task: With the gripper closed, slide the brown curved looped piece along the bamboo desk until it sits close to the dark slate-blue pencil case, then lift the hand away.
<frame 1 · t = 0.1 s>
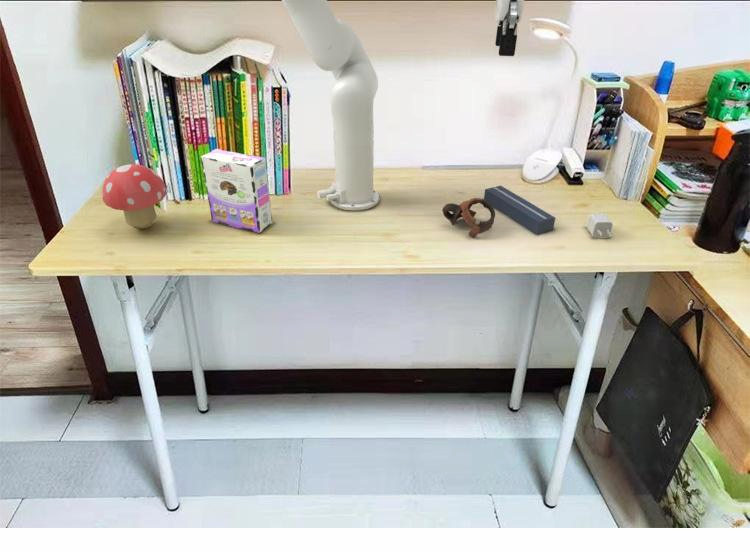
hand: (504, 50, 119), 37 cm above the table, tool pointing down, fingers open, 9 cm apart
usb wall charger: (599, 236, 128), on the table
candy box: (242, 223, 132), on the table
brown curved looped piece: (466, 228, 131), on the table
pencil case: (516, 214, 136), on the table
decorative mushroom: (143, 228, 129), on the table
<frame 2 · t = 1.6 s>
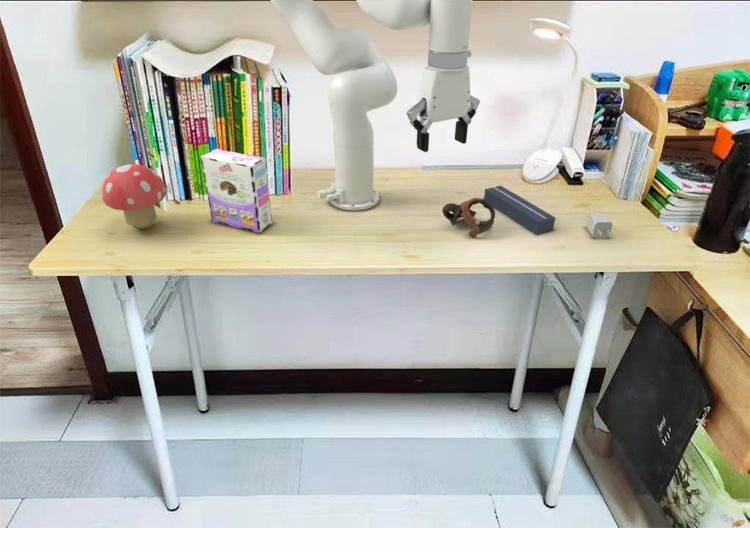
hand: (441, 145, 116), 21 cm above the table, tool pointing down, fingers open, 9 cm apart
nothing on the table moved.
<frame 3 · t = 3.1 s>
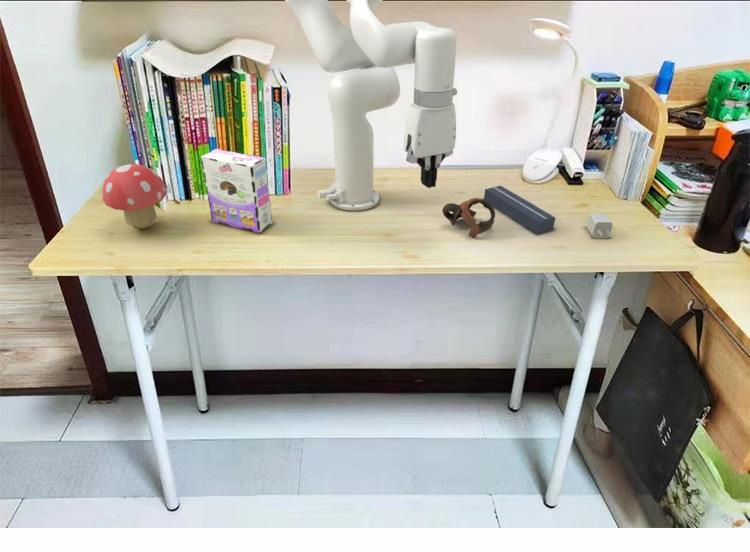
hand: (428, 185, 118), 13 cm above the table, tool pointing down, fingers closed
nothing on the table moved.
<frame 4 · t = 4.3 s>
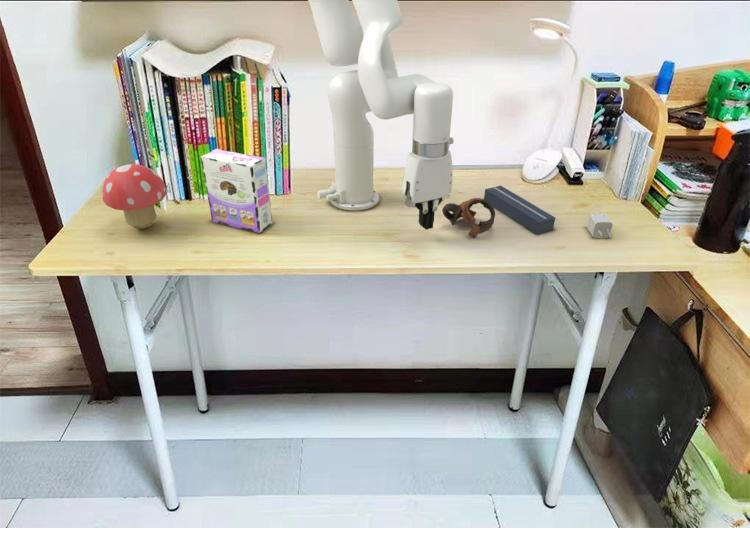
hand: (425, 226, 124), 3 cm above the table, tool pointing down, fingers closed
nothing on the table moved.
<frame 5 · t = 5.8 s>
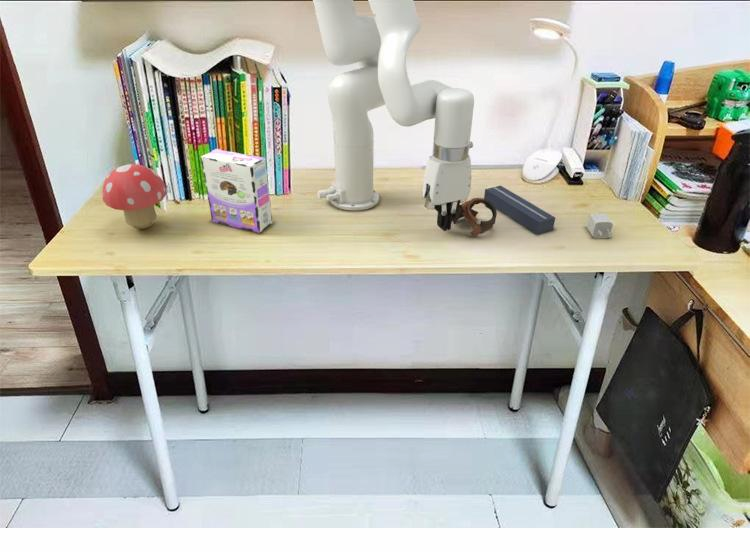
hand: (443, 227, 127), 2 cm above the table, tool pointing down, fingers closed
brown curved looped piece: (468, 228, 131), on the table, touching gripper
everything else where it was.
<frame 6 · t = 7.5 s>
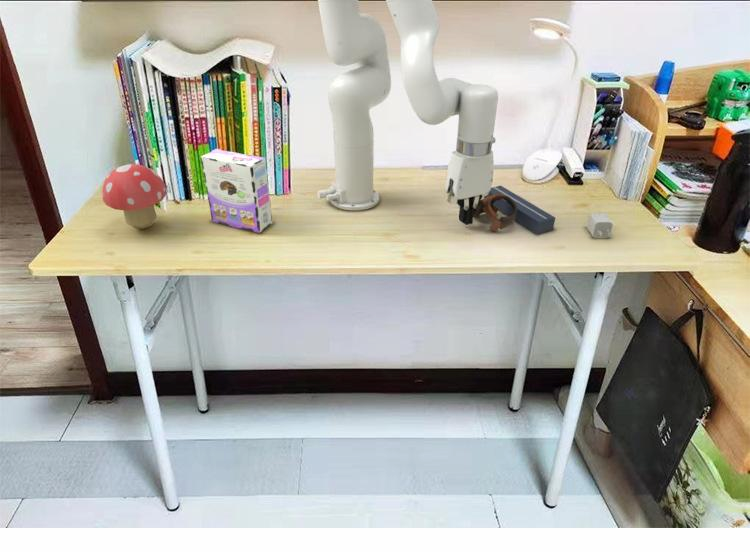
hand: (465, 222, 129), 2 cm above the table, tool pointing down, fingers closed
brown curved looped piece: (488, 223, 133), on the table, touching gripper
everything else where it was.
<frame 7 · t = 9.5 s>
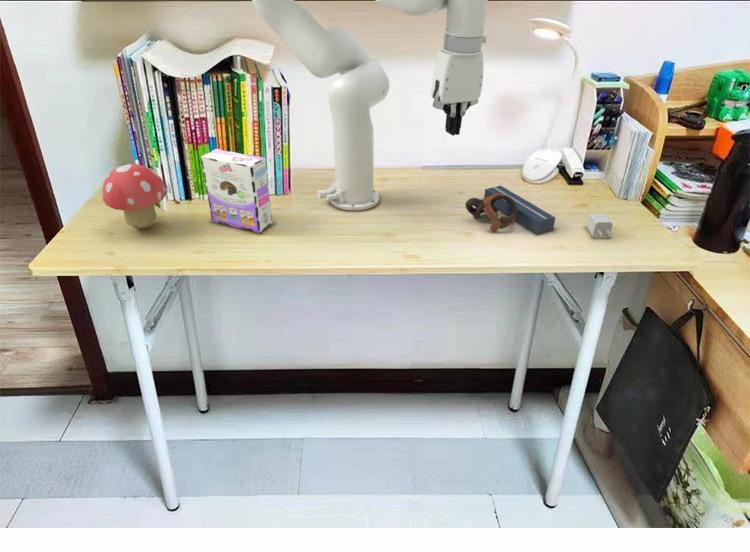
hand: (452, 132, 122), 22 cm above the table, tool pointing down, fingers closed
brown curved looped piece: (488, 223, 133), on the table
everything else where it was.
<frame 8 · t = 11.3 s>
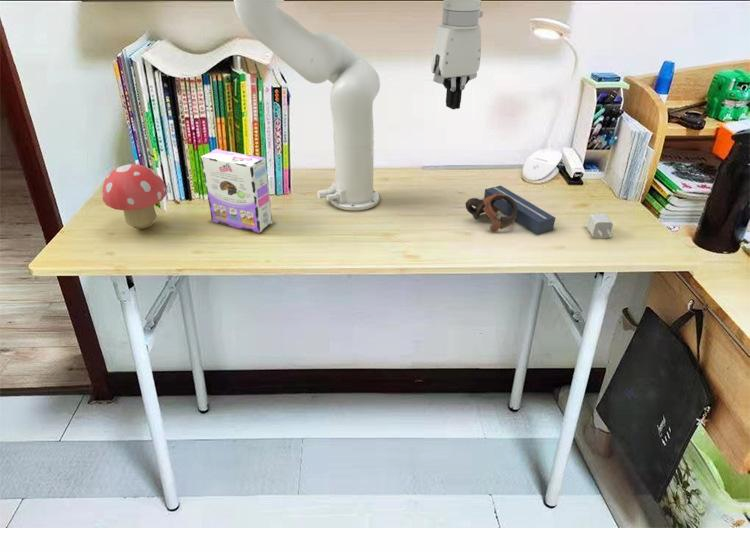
hand: (452, 107, 125), 25 cm above the table, tool pointing down, fingers closed
nothing on the table moved.
at the end: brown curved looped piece 8.7 cm from the pencil case (horizontally); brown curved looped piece moved 6.3 cm from its start; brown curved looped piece tilted 0° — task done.
